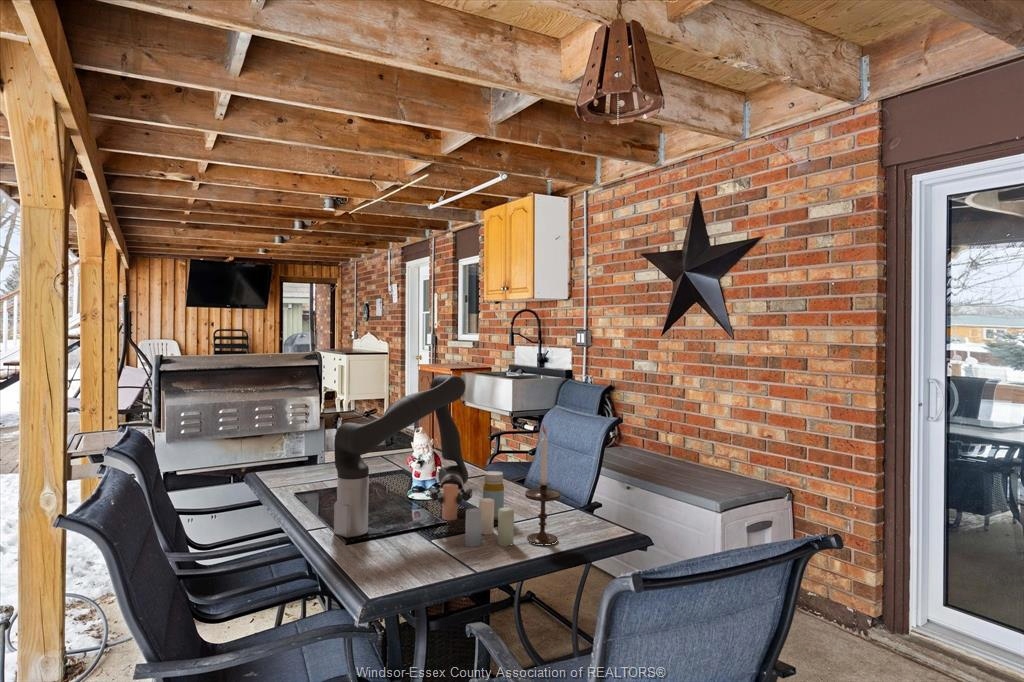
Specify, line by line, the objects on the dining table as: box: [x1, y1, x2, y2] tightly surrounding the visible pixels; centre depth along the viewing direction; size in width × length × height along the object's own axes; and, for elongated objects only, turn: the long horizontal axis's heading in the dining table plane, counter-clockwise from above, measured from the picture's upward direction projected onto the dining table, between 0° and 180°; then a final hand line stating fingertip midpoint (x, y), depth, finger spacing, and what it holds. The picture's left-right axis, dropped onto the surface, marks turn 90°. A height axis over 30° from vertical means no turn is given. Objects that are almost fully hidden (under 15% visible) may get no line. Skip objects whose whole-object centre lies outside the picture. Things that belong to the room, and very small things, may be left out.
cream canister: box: [478, 497, 495, 536], centre depth 190 cm, size 5×5×10 cm
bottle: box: [482, 470, 505, 521], centre depth 205 cm, size 7×7×15 cm
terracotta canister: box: [441, 484, 458, 521], centre depth 189 cm, size 5×5×10 cm
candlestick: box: [524, 424, 563, 545], centre depth 184 cm, size 11×11×35 cm
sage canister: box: [497, 507, 515, 547], centre depth 181 cm, size 5×5×10 cm
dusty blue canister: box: [464, 507, 482, 548], centre depth 180 cm, size 5×5×10 cm
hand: (449, 500), depth 187 cm, fingers closed on terracotta canister, 4 cm apart
